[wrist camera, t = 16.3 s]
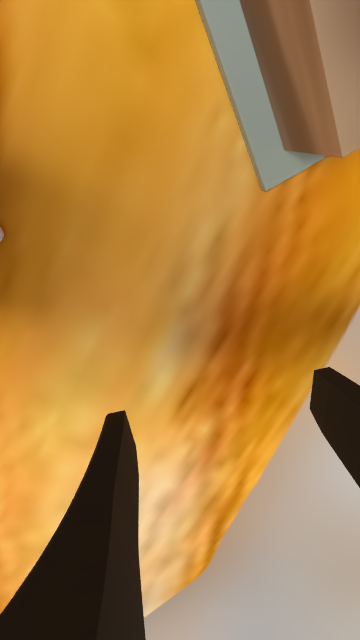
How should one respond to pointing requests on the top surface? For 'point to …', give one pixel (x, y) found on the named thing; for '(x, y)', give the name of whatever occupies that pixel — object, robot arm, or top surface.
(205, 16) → the mat
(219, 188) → the top surface
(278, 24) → the brown rectangular block
